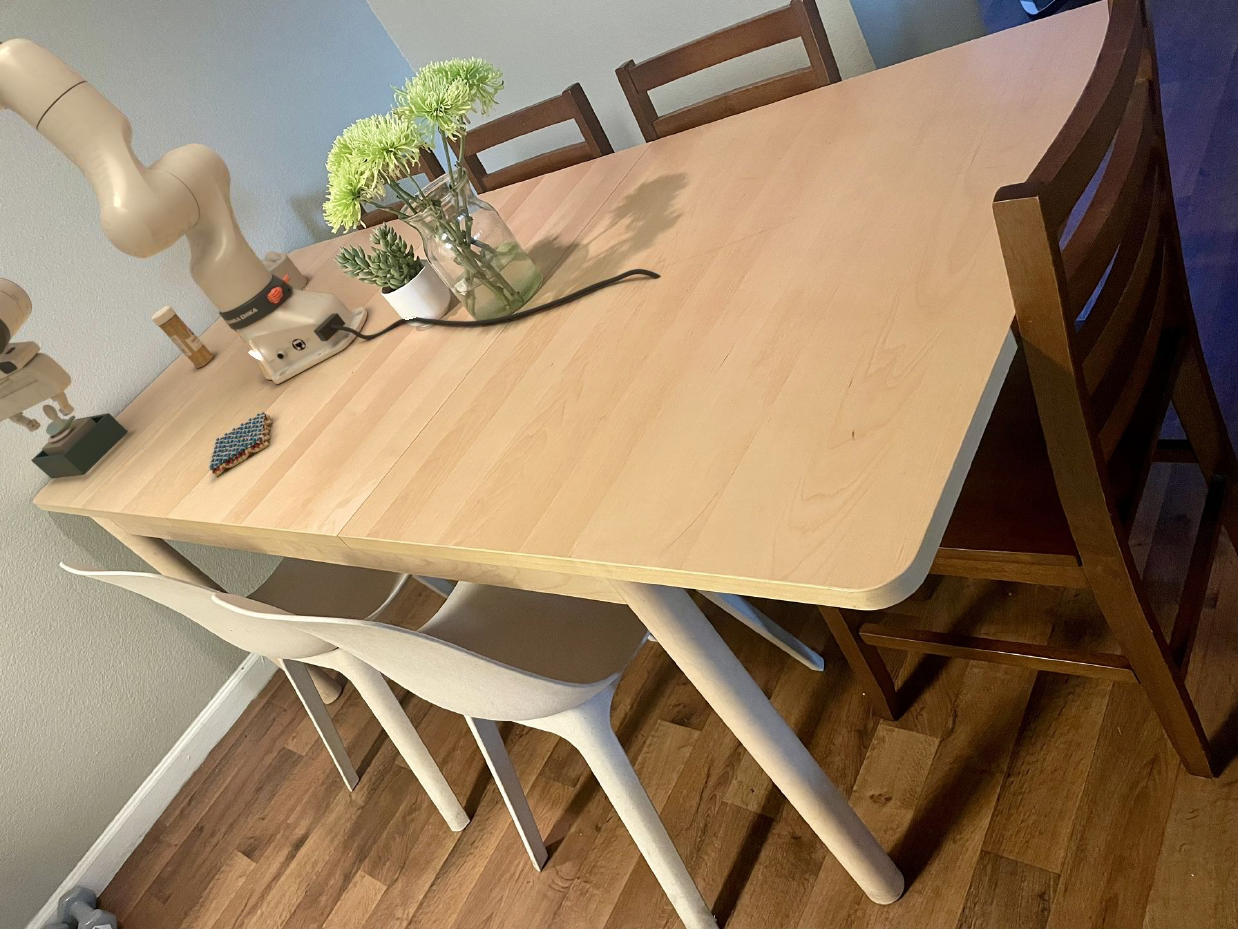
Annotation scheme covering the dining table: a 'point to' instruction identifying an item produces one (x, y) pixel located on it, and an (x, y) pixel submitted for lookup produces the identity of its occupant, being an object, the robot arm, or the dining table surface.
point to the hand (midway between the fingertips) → (53, 421)
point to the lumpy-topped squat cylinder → (284, 269)
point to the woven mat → (240, 443)
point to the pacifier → (57, 424)
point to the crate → (83, 449)
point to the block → (69, 437)
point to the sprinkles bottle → (182, 336)
